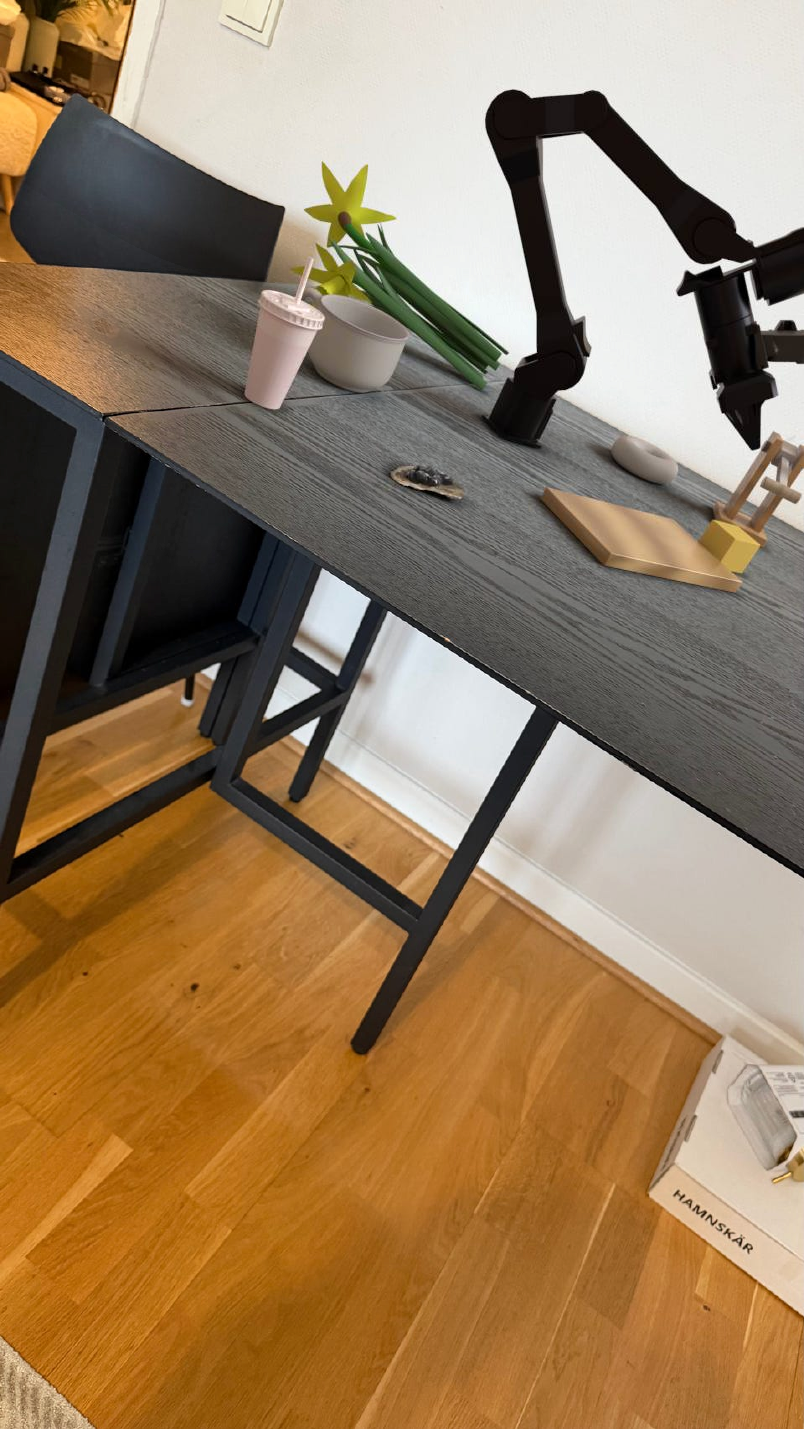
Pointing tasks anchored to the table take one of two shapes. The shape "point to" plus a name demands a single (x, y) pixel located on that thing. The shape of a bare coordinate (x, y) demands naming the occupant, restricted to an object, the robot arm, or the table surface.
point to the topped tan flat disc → (428, 480)
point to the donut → (644, 460)
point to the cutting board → (639, 541)
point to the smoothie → (280, 343)
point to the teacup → (355, 342)
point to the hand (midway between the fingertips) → (755, 449)
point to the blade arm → (782, 473)
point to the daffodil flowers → (393, 282)
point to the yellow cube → (729, 545)
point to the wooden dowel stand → (758, 467)
